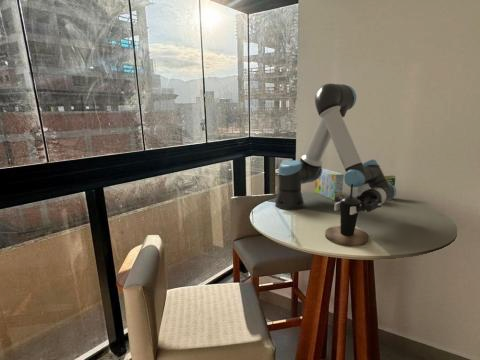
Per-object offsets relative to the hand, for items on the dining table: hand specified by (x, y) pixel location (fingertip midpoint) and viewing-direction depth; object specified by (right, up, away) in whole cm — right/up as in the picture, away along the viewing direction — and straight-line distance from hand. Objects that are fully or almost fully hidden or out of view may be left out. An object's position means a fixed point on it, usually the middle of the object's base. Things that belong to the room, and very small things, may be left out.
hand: (342, 209), depth 109 cm
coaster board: (+3, -12, +5) cm, 13 cm away
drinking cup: (+3, -10, +5) cm, 12 cm away
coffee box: (+44, 0, +57) cm, 72 cm away
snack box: (+14, +1, +64) cm, 66 cm away
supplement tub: (+29, -1, +55) cm, 62 cm away
